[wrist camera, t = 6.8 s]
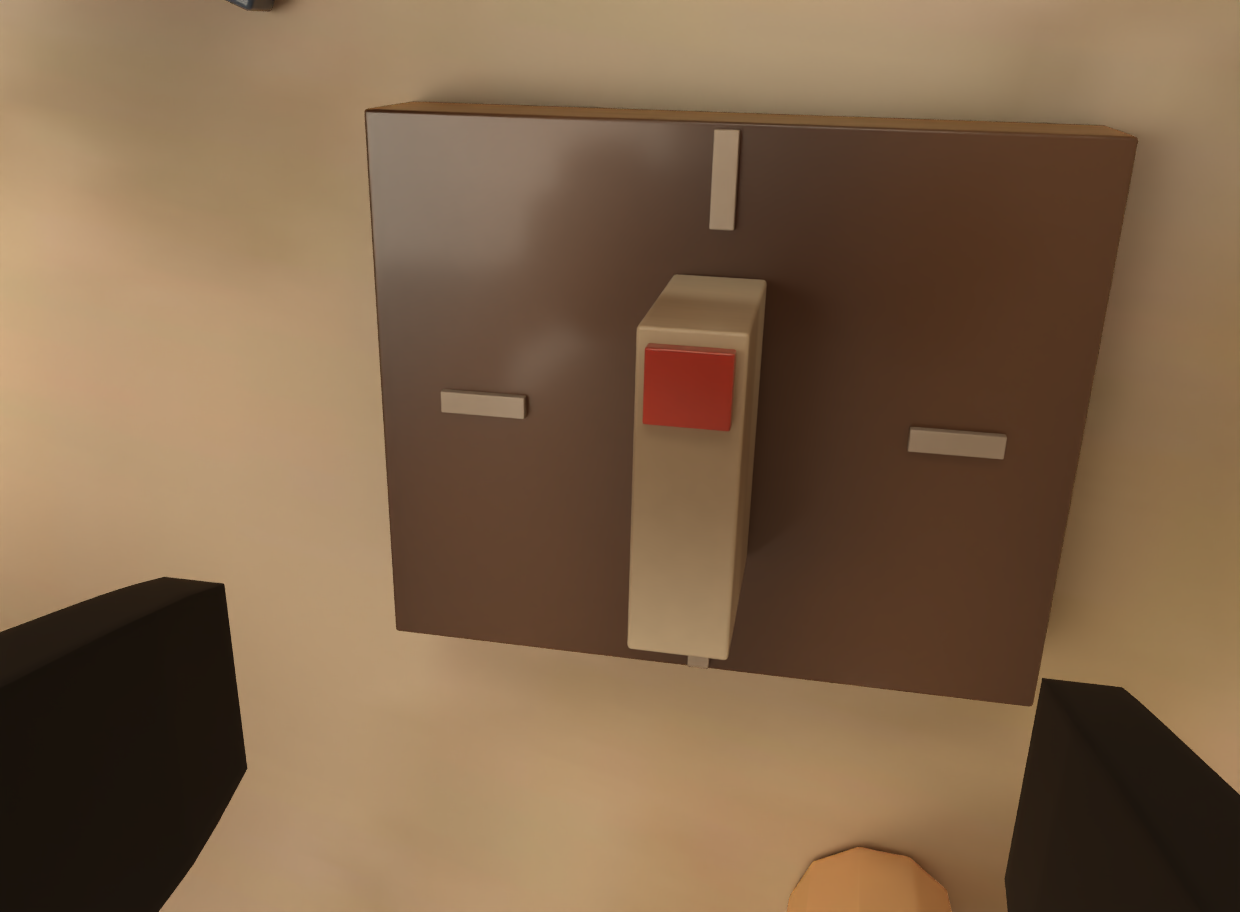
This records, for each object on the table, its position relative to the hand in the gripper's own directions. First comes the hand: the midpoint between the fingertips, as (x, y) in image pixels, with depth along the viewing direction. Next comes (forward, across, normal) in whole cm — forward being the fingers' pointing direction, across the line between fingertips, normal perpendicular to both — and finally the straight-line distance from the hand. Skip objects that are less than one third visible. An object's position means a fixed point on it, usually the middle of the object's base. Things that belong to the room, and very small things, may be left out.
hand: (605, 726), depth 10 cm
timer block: (+10, 0, 0) cm, 10 cm away
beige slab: (+8, 0, 0) cm, 8 cm away
